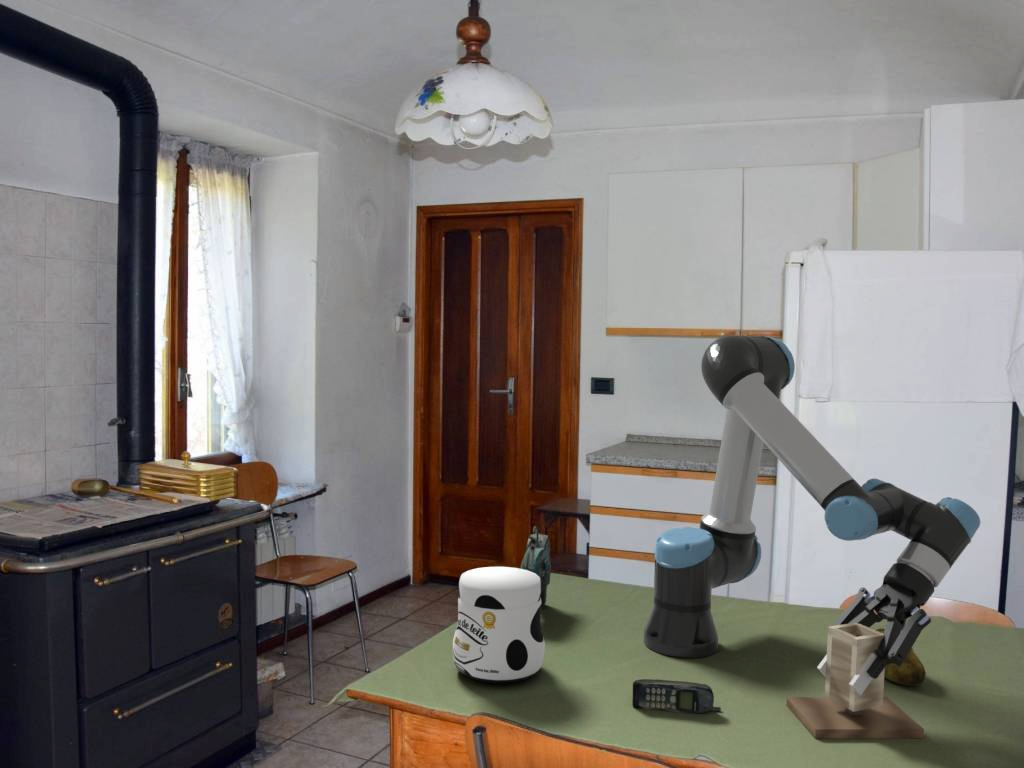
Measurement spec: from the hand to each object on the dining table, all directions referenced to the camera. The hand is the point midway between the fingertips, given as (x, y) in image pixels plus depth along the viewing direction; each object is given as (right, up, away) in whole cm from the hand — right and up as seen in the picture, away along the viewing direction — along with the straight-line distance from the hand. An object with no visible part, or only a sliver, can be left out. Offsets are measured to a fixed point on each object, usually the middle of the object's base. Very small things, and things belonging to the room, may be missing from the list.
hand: (838, 681), depth 141 cm
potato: (+19, -7, +22) cm, 29 cm away
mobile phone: (-26, -7, +5) cm, 27 cm away
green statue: (-49, -3, +51) cm, 71 cm away
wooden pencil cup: (+3, -4, +2) cm, 5 cm away
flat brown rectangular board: (+3, -7, +2) cm, 8 cm away
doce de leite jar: (-57, -5, +19) cm, 60 cm away
